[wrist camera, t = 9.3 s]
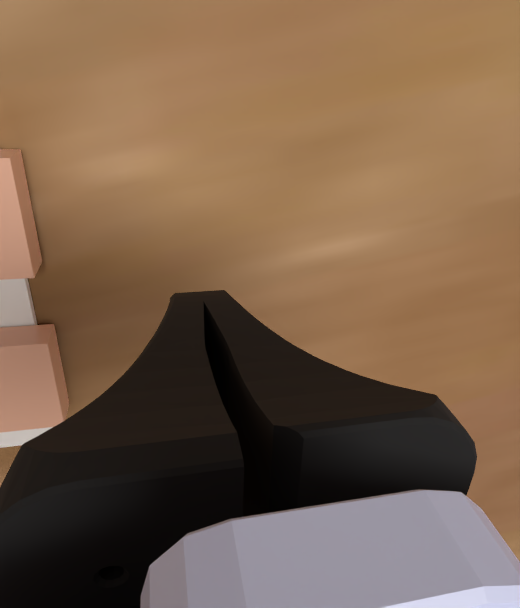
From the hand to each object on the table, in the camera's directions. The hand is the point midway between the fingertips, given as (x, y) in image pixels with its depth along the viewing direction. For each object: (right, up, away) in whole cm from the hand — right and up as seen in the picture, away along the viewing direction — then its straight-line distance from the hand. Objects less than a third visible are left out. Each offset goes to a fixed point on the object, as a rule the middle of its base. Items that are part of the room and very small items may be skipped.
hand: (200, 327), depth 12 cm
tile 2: (-8, -3, +10) cm, 13 cm away
